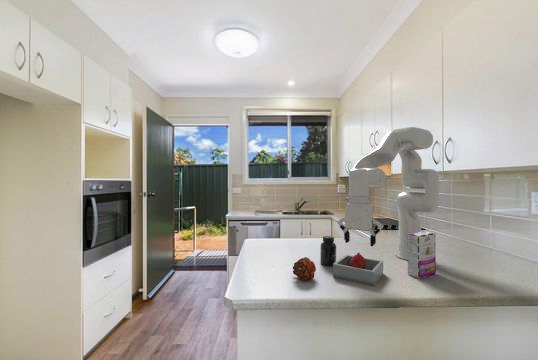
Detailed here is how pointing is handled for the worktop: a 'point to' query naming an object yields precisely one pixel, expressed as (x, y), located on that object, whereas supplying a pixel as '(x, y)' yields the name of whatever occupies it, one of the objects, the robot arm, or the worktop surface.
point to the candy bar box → (421, 254)
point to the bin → (358, 271)
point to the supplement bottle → (328, 251)
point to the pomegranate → (358, 261)
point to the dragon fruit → (304, 268)
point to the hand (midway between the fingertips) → (359, 243)
